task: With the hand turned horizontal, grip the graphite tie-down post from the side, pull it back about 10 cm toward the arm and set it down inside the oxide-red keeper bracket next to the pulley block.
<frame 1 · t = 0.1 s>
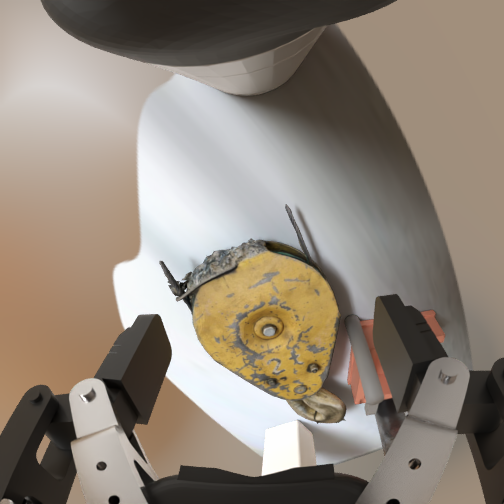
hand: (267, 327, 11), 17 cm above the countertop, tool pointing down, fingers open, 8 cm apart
keeper bracket: (389, 348, 34), on the countertop
tie-down post: (384, 395, 38), on the countertop
white square bottle: (289, 430, 42), on the countertop
pulley block: (283, 339, 34), on the countertop
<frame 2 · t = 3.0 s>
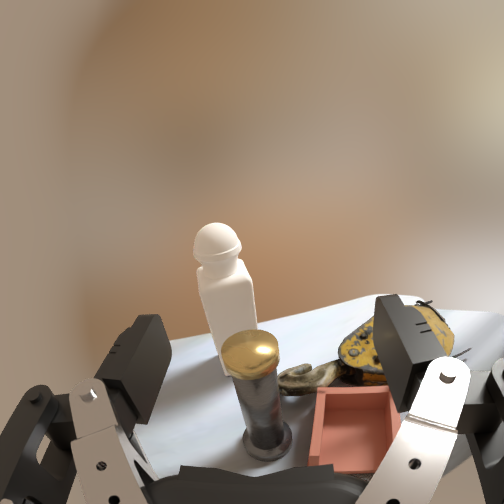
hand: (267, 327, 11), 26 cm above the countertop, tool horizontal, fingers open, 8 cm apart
keeper bracket: (353, 438, 30), on the countertop
tie-down post: (268, 442, 31), on the countertop
white square bottle: (240, 361, 46), on the countertop
pulley block: (373, 366, 40), on the countertop
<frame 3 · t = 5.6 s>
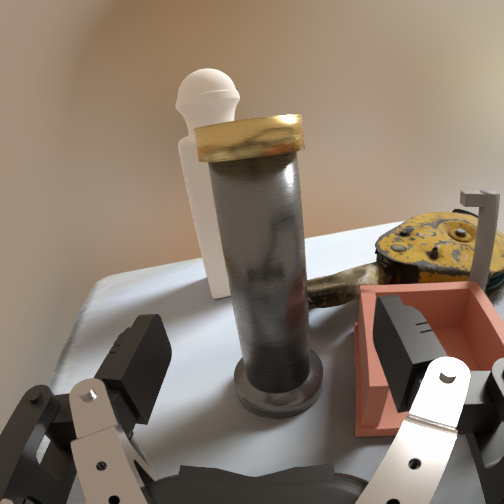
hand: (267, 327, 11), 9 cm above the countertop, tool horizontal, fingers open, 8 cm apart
keeper bracket: (425, 372, 17), on the countertop
tie-down post: (279, 385, 19), on the countertop
white square bottle: (236, 283, 33), on the countertop
pulley block: (419, 282, 28), on the countertop
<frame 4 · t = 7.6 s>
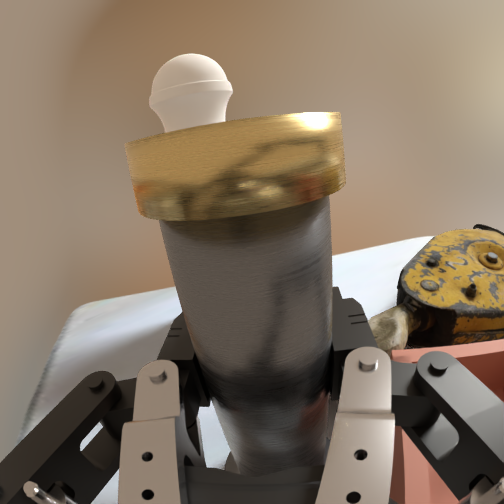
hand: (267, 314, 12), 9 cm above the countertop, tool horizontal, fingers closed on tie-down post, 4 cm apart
keeper bracket: (461, 452, 11), on the countertop
tie-down post: (283, 477, 13), on the countertop, touching gripper
white square bottle: (231, 322, 27), on the countertop
pulley block: (445, 318, 23), on the countertop
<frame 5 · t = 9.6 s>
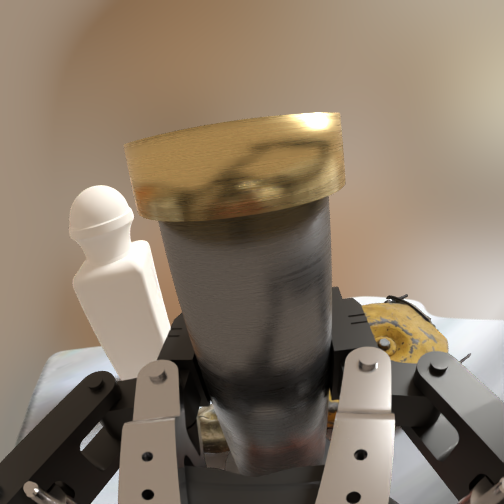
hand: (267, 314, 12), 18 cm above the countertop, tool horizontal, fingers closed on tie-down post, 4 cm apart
tie-down post: (283, 477, 13), point 9 cm above the countertop, touching gripper
white square bottle: (159, 383, 32), on the countertop
pulley block: (332, 394, 28), on the countertop
when the fingers open (11 cm above the countertop, at t = 11.4 s): tie-down post stays where it is, resting on keeper bracket.
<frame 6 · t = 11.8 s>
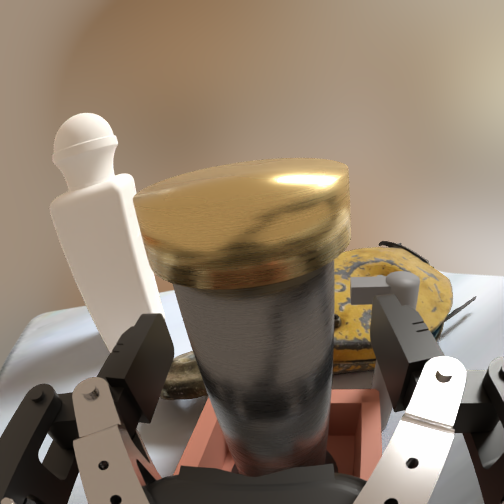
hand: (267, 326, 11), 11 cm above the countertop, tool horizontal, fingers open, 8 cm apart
keeper bracket: (284, 489, 14), on the countertop
tie-down post: (285, 486, 13), point 1 cm above the countertop, touching keeper bracket
white square bottle: (139, 337, 30), on the countertop
pulley block: (327, 342, 26), on the countertop
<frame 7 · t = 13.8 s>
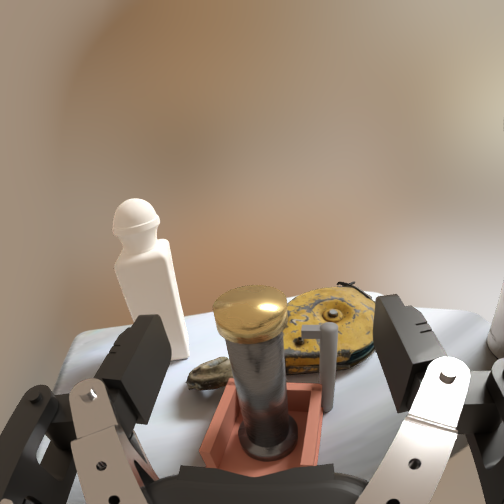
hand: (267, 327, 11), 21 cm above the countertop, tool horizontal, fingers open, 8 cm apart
keeper bracket: (269, 441, 26), on the countertop
tie-down post: (269, 438, 26), point 1 cm above the countertop, touching keeper bracket
white square bottle: (170, 350, 42), on the countertop
pulley block: (297, 354, 39), on the countertop
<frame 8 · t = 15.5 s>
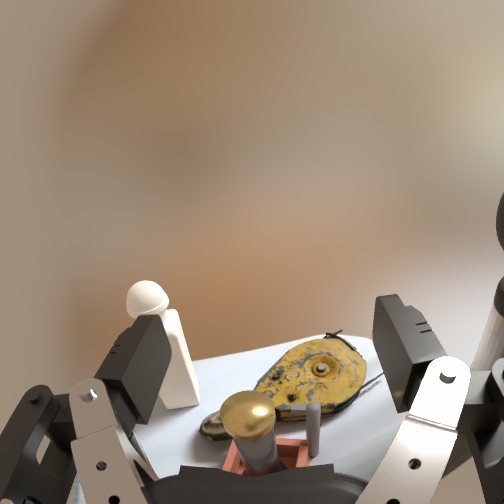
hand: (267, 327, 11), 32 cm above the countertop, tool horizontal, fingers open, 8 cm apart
keeper bracket: (266, 480, 31), on the countertop
tie-down post: (266, 479, 31), point 1 cm above the countertop, touching keeper bracket
white square bottle: (183, 396, 47), on the countertop
pulley block: (290, 401, 44), on the countertop
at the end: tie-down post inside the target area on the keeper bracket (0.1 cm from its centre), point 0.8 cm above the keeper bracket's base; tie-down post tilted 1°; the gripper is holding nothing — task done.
